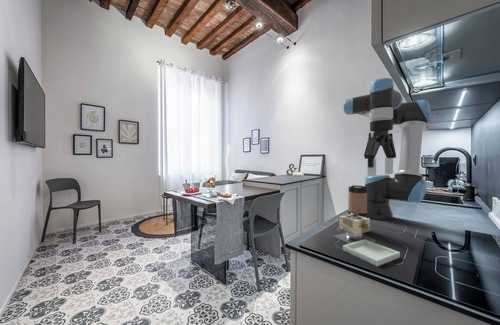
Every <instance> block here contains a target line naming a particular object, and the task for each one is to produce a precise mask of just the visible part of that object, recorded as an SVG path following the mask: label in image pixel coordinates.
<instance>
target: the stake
mask: <svg viewBox="0 0 500 325" xmlns="http://www.w3.org/2000/svg"><path fill="white" fill-rule="evenodd" d="M350 215H351V218H352V219H355V220H356V219H358V216H359V214H358V213H350ZM363 234H364V233H361V234H354V233H351V232H348V231H346V230H345V232H343V233H339V234H335V235H333V238H334V239H338V240H339V241H342V242H343V243H346V244H350V243H353V242H357V241H360V240H364V239H366V240H368V241H371V242H374V243H376V241H377V240H376V239H374V238H371V237H369V236H366V235H363Z"/></svg>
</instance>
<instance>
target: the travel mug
mask: <svg viewBox="0 0 500 325" xmlns="http://www.w3.org/2000/svg"><path fill="white" fill-rule="evenodd" d="M347 198H348V199H347V200H348V204H347V208H348V211H347V213H348V214H350V213H358V214H359V216H362V217H366V218H367V187H365V185H354V184H353V185H351V186H348V197H347ZM348 214H347V215H348Z"/></svg>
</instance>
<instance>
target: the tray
mask: <svg viewBox="0 0 500 325" xmlns="http://www.w3.org/2000/svg"><path fill="white" fill-rule="evenodd" d="M342 251H343V252H345V253H347V254H350V255H352V256H354V257H356V258H358V259H360V260H362V261H364V262H367V263H368V264H371V265H373V266H375V267H380V266H382V265H384V264H387V263H391V262H392V261H394V260H397V259H400V258H401V252H400V251H397V250H396V249H395V250H394V249H393V248H389V247H387V246H385V245H381V244H379V243H376V242H371V241H368V240H366V239H364V240H360V241H357V242H353V243H350V244H349V243H346V244H342Z"/></svg>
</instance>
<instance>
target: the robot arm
mask: <svg viewBox="0 0 500 325" xmlns="http://www.w3.org/2000/svg"><path fill="white" fill-rule="evenodd" d="M394 86H395V84H394V80H393V78H392V77H391V78H390V77H381V78H377V79H375V80H373V81H372V82H371V83H370V88H369V94H365V95H360V96H354V97H350V98H346V99H345V100H344V102H343V105H342V106H343V112H344V114H345V115H347V116H349V115H351V116H352V115H359V116H363V117H365V118H369V120H370V122H369V133H368V137H367V138H368V139H367V142H366V147H365V150H364V154H363V157H364V159H367V176H366V177H365V181H364V186H365V187H367V217H368V218H370V219H371V218H372V220H379V221H391V220H392V219H393V218H394V214H393V212H392V208H391V206H390V200H392V201H399V202H408V203H413V204H414V203H415V204H417V203H418V204H419V203H421V202H422V201H423V200H424V198H425V195H426V191H427V180H425V179H424V177H423V175H422V174H421V173H420V167H421V157H422V156H421V153H422V141H423V129H424V128H426V127H427V126H428V123H429V122H431V121H432V110H431V105H430V103H429V100H427V99H416V100H413V101H407V102H406V101H405V102H403V101H404V98H403V95H402V94H401V93H400V91H398V90H395V89H394ZM395 125H398V126H399V128H400V129H401V140H400V150H399V161H398V162H399V163H398V171H397V172H395V173H394V159H396V158H397V153H396V148H395V143H394V138H393V133H392V132H391V133H389V131H392V130H393V129H394V126H395ZM380 146H381V147H382V150H383V152H384V153H383V154H384V156H385V158H384V174H377V158H376V156H377V155H378V154H377V153H378V151H379V149H380ZM393 174H394V175H393ZM390 175H393V176H394V177H391V176H390Z"/></svg>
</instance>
